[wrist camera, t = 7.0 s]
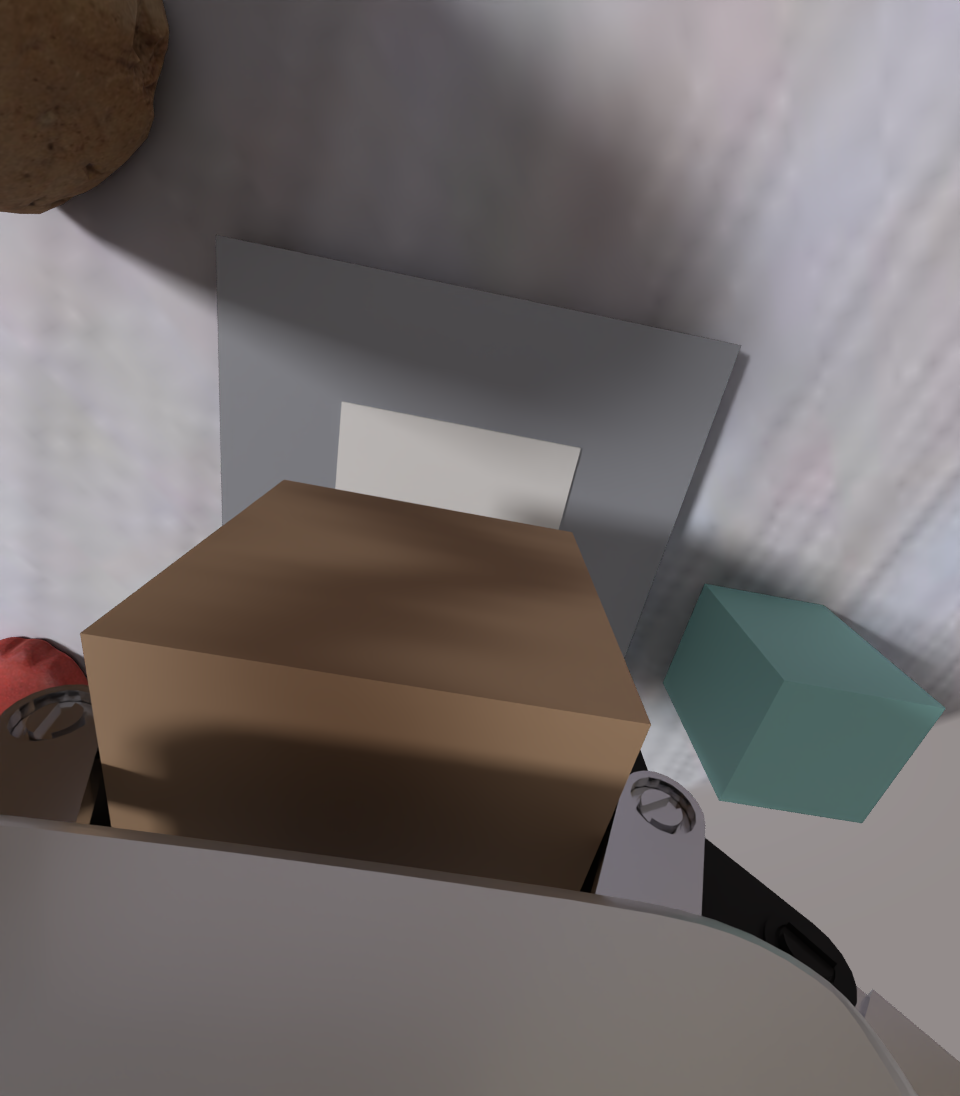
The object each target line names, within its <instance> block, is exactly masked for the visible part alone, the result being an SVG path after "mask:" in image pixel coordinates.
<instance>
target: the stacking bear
mask: <svg viewBox="0 0 960 1096" xmlns="http://www.w3.org/2000/svg"><path fill="white" fill-rule="evenodd" d="M75 684H83V685H88V680H87V679H86V677H85V675H84V674H83V672H82V670H81V669H80V668H79V666H78V665H77V664H76V663H75V661H74V660H73V659H72V658H70V657H69V656H68V655H66V654H65V653H63V652H61V651H59V650H57V649H56V648H54V647H53V646H52V645H50V644H49V643H48V642H46V641H44V640H41V639H24V638H19V637H10V638H6V639H2V640H0V715H1V714H2V713H3V712H4V711H5V710H6V709H7V708H9V707H10V706H11V705H13V704H14V703H15V702H17V701H18V700H20V699H22V698H24V697H26V696H28V695H30V694H32V693H35V692H38V691H41V690H44V689H47V688H51V687H56V686H62V685H75ZM88 686H89V685H88Z"/></svg>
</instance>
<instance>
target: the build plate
mask: <svg viewBox="0 0 960 1096" xmlns="http://www.w3.org/2000/svg"><path fill="white" fill-rule="evenodd" d="M216 273H217V316H218V359H219V402H220V446H221V489H222V526H223V525H224V524H226V523H227V522H228V521H230V520H231V519H232V518H234V517H235V516H236V515H238V514H239V513H240V512H242V511H243V510H244V509H246V508H247V507H248V506H250V505H251V504H252V503H254V502H255V501H256V500H257V499H259V498H260V497H261V496H263V495H264V494H265V493H267V492H268V491H269V490H271V489H272V488H273V487H275V486H276V485H277V484H279V483H280V482H281V481H283V480H289V481H295V482H300V483H306V484H311V485H317V486H322V487H328V488H333V489H339V490H344V491H350V492H355V493H360V494H366V495H371V496H377V497H382V498H388V499H393V500H399V501H404V502H410V503H415V504H421V505H426V506H432V507H437V508H442V509H448V510H453V511H459V512H464V513H470V514H475V515H481V516H486V517H492V518H497V519H503V520H508V521H514V522H519V523H524V524H530V525H535V526H541V527H546V528H552V529H557V530H563V531H568V532H572V533H573V535H574V538H575V540H576V543H577V545H578V547H579V550H580V552H581V555H582V557H583V560H584V562H585V565H586V567H587V569H588V572H589V574H590V577H591V579H592V582H593V584H594V587H595V589H596V591H597V594H598V596H599V599H600V601H601V604H602V606H603V609H604V611H605V613H606V616H607V618H608V621H609V623H610V626H611V628H612V631H613V633H614V635H615V638H616V640H617V643H618V645H619V648H620V650H621V652H622V655H623V657H624V658H625V656H626V653H627V650H628V648H629V645H630V642H631V640H632V637H633V634H634V632H635V629H636V626H637V623H638V621H639V618H640V615H641V613H642V610H643V607H644V605H645V602H646V599H647V597H648V594H649V591H650V589H651V586H652V583H653V581H654V578H655V575H656V573H657V570H658V567H659V565H660V562H661V559H662V557H663V554H664V551H665V549H666V546H667V543H668V540H669V538H670V535H671V532H672V530H673V527H674V524H675V522H676V519H677V516H678V514H679V511H680V508H681V506H682V503H683V500H684V498H685V495H686V492H687V490H688V487H689V484H690V482H691V479H692V476H693V474H694V471H695V468H696V466H697V463H698V460H699V458H700V455H701V452H702V449H703V447H704V444H705V441H706V439H707V436H708V433H709V431H710V428H711V425H712V423H713V420H714V417H715V415H716V412H717V409H718V407H719V404H720V401H721V399H722V396H723V393H724V391H725V388H726V385H727V383H728V380H729V377H730V375H731V372H732V369H733V366H734V364H735V361H736V358H737V356H738V353H739V350H740V348H741V345H737V344H732V343H727V342H723V341H718V340H713V339H708V338H704V337H699V336H694V335H689V334H685V333H680V332H675V331H671V330H666V329H661V328H656V327H652V326H647V325H642V324H637V323H633V322H628V321H623V320H618V319H614V318H609V317H604V316H599V315H595V314H590V313H585V312H580V311H576V310H571V309H566V308H561V307H557V306H552V305H547V304H542V303H538V302H533V301H528V300H523V299H519V298H514V297H509V296H504V295H500V294H495V293H490V292H485V291H481V290H476V289H471V288H466V287H462V286H457V285H452V284H447V283H443V282H438V281H433V280H429V279H424V278H419V277H414V276H410V275H405V274H400V273H395V272H391V271H386V270H381V269H376V268H372V267H367V266H362V265H357V264H353V263H348V262H343V261H338V260H334V259H329V258H324V257H319V256H315V255H310V254H305V253H300V252H296V251H291V250H286V249H281V248H277V247H272V246H267V245H262V244H258V243H253V242H248V241H243V240H239V239H234V238H229V237H224V236H220V235H216Z"/></svg>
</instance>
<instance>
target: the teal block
mask: <svg viewBox="0 0 960 1096" xmlns="http://www.w3.org/2000/svg"><path fill="white" fill-rule="evenodd" d="M663 684H664V686H665V688H666V690H667V692H668V694H669V696H670V698H671V701H672V703H673V705H674V707H675V709H676V711H677V713H678V715H679V717H680V719H681V722H682V724H683V726H684V728H685V730H686V732H687V734H688V736H689V738H690V740H691V743H692V745H693V747H694V749H695V751H696V753H697V755H698V757H699V759H700V761H701V763H702V766H703V768H704V770H705V772H706V774H707V776H708V778H709V780H710V782H711V784H712V787H713V789H714V791H715V793H716V795H717V797H718V799H719V801H725V802H733V803H738V804H745V805H751V806H757V807H763V808H770V809H776V810H783V811H788V812H795V813H801V814H808V815H814V816H820V817H826V818H833V819H839V820H845V821H852V822H858V823H863V821H864V820H865V819H866V817H867V816H868V815H869V813H870V812H871V810H872V809H873V808H874V806H875V805H876V804H877V802H878V801H879V799H880V798H881V797H882V795H883V794H884V793H885V791H886V790H887V788H888V787H889V786H890V784H891V783H892V781H893V780H894V779H895V777H896V776H897V775H898V773H899V772H900V771H901V769H902V768H903V766H904V765H905V764H906V762H907V761H908V760H909V758H910V757H911V755H912V754H913V753H914V751H915V750H916V748H917V747H918V746H919V744H920V743H921V742H922V740H923V739H924V738H925V736H926V735H927V733H928V732H929V731H930V729H931V728H932V727H933V725H934V724H935V722H936V721H937V720H938V718H939V717H940V716H941V714H942V713H943V712H944V710H945V709H946V708H945V707H944V706H942V705H941V704H940V703H939V702H938V701H936V700H935V699H934V698H933V697H932V696H930V695H929V694H928V693H927V692H926V691H925V690H923V689H922V688H921V687H920V686H919V685H917V684H916V683H915V682H914V681H913V680H912V679H910V678H909V677H908V676H907V675H906V674H904V673H903V672H902V671H901V670H900V669H899V668H897V667H896V666H895V665H894V664H893V663H891V662H890V661H889V660H888V659H887V658H885V657H884V656H883V655H882V654H881V653H880V652H878V651H877V650H876V649H875V648H874V647H872V646H871V645H870V644H869V643H868V642H867V641H865V640H864V639H863V638H862V637H861V636H859V635H858V634H857V633H856V632H855V631H854V630H852V629H851V628H850V627H849V626H848V625H846V624H845V623H844V622H843V621H842V620H841V619H839V618H838V617H837V616H836V615H835V614H833V613H832V612H831V611H830V610H829V609H827V608H826V607H825V606H824V605H819V604H814V603H808V602H803V601H797V600H792V599H786V598H781V597H775V596H770V595H764V594H759V593H754V592H748V591H743V590H737V589H732V588H726V587H721V586H715V585H710V584H704V587H703V589H702V591H701V594H700V596H699V599H698V601H697V603H696V606H695V608H694V610H693V613H692V615H691V618H690V620H689V622H688V625H687V627H686V629H685V632H684V634H683V637H682V639H681V641H680V644H679V646H678V648H677V651H676V653H675V656H674V658H673V660H672V663H671V665H670V667H669V670H668V672H667V675H666V677H665V679H664V682H663Z"/></svg>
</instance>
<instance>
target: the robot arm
mask: <svg viewBox="0 0 960 1096" xmlns="http://www.w3.org/2000/svg"><path fill="white" fill-rule="evenodd" d="M0 1096H960V1062H959V1061H958V1060H957V1059H955V1058H954V1057H953V1056H952V1055H951V1054H949V1053H948V1052H947V1051H946V1050H945V1049H943V1048H942V1047H941V1046H940V1045H939V1044H937V1043H936V1042H935V1041H934V1040H933V1039H932V1038H930V1037H929V1036H928V1035H927V1034H926V1033H925V1032H923V1031H922V1030H921V1029H919V1027H917V1026H916V1025H915V1024H914V1023H913V1022H911V1021H910V1020H909V1019H908V1018H906V1017H905V1016H904V1015H903V1014H902V1013H901V1012H900V1011H898V1010H897V1009H896V1008H895V1007H894V1006H892V1005H891V1004H890V1003H889V1002H888V1001H886V1000H885V999H884V998H883V997H882V996H881V995H879V994H878V993H877V992H876V991H875V990H872V991H871V992H870V993H869V994H868V995H867V994H865V993H864V992H863V991H862V990H861V989H860V988H858V987H857V986H856V984H855V981H854V977H853V974H852V971H851V970H850V968H849V966H848V964H847V963H846V961H845V959H844V957H843V956H842V954H841V953H840V952H839V950H838V949H837V948H836V946H835V945H834V944H833V943H832V942H831V940H830V939H829V938H828V937H827V936H826V935H825V934H824V933H823V932H821V930H820V929H818V928H817V927H816V926H815V925H814V924H813V923H812V922H810V921H809V920H808V919H807V918H805V917H804V916H803V915H802V914H800V913H799V912H797V910H795V909H794V908H793V907H791V906H790V905H789V904H787V903H786V902H785V901H784V900H783V899H781V898H780V897H779V896H777V895H776V894H775V893H774V892H773V891H771V890H770V889H769V888H767V887H766V886H765V885H764V884H762V883H761V882H760V881H759V880H758V879H756V878H755V877H754V876H752V875H751V874H750V873H749V872H747V871H746V870H745V869H744V868H742V867H741V866H740V865H739V864H737V863H736V862H735V861H733V860H732V859H731V858H730V857H728V856H727V855H726V854H725V853H724V852H722V851H721V850H720V849H719V848H717V847H716V846H715V845H713V844H712V843H711V842H710V841H708V840H707V839H706V838H705V820H704V814H703V812H702V810H701V808H700V806H699V804H698V802H697V801H696V800H695V798H694V797H693V796H692V795H691V793H690V792H689V791H687V790H686V789H685V788H684V787H683V786H682V785H680V784H679V783H678V782H676V781H674V780H673V779H671V778H669V777H668V776H665V775H662V774H659V773H657V772H652V771H648V770H647V767H646V764H645V761H644V759H643V756H642V753H641V750H640V751H639V754H638V756H637V758H636V761H635V763H634V765H633V768H632V770H631V772H630V775H629V777H628V779H627V782H626V784H625V787H624V789H623V791H622V794H621V796H620V798H619V801H618V803H617V805H616V808H615V810H614V812H613V815H612V817H611V819H610V822H609V824H608V826H607V829H606V831H605V833H604V836H603V838H602V840H601V843H600V845H599V847H598V850H597V852H596V854H595V857H594V859H593V861H592V864H591V866H590V868H589V871H588V873H587V876H586V878H585V880H584V883H583V885H582V887H581V890H580V891H573V890H567V889H561V888H555V887H548V886H541V885H534V884H527V883H520V882H513V881H506V880H499V879H492V878H485V877H477V876H470V875H463V874H456V873H449V872H442V871H435V870H428V869H421V868H414V867H407V866H399V865H392V864H385V863H377V862H370V861H363V860H355V859H348V858H341V857H334V856H326V855H319V854H311V853H304V852H296V851H289V850H282V849H274V848H267V847H259V846H252V845H244V844H237V843H229V842H221V841H214V840H206V839H198V838H191V837H183V836H175V835H167V834H160V833H152V832H144V831H137V830H129V829H121V828H114V827H111V821H110V815H109V809H108V802H107V796H106V790H105V784H104V778H103V772H102V765H101V759H100V753H99V747H98V741H97V734H96V728H95V722H94V716H93V710H92V703H91V697H90V691H89V686H88V685H83V684H75V685H62V686H56V687H51V688H47V689H44V690H41V691H38V692H35V693H32V694H30V695H28V696H26V697H24V698H22V699H20V700H18V701H17V702H15V703H14V704H13V705H11V706H10V707H9V708H7V709H6V710H5V711H4V712H3V713H2V714H1V715H0Z"/></svg>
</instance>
